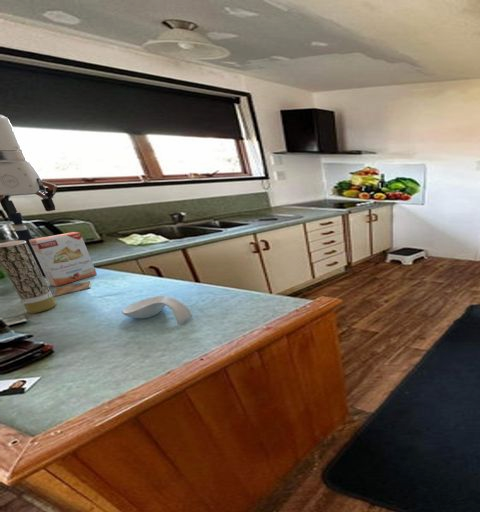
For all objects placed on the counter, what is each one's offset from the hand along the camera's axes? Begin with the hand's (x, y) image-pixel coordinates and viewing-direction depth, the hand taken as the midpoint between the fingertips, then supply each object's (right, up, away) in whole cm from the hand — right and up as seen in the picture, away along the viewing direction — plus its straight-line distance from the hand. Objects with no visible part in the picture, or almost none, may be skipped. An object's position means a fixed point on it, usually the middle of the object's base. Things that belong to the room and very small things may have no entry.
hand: (31, 211), depth 90 cm
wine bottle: (-47, -24, +40) cm, 66 cm away
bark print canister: (-6, -34, +8) cm, 36 cm away
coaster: (-13, -29, +24) cm, 39 cm away
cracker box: (-23, -26, +33) cm, 48 cm away
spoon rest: (+43, -35, +1) cm, 55 cm away
